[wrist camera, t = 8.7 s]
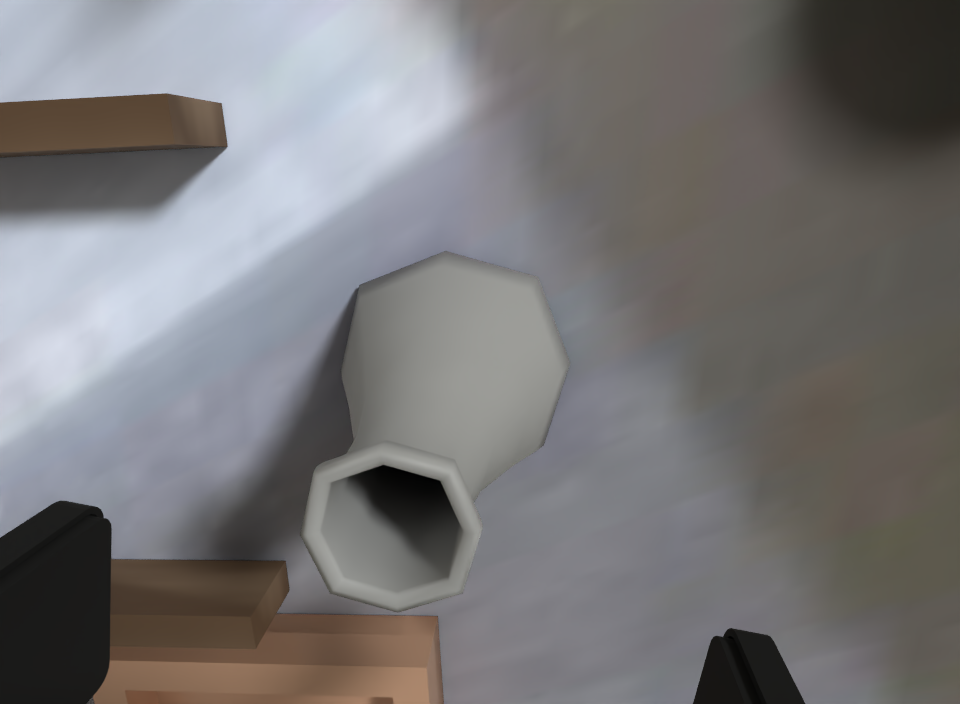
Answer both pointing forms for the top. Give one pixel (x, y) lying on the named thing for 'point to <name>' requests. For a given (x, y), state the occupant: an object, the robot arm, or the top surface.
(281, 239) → the top surface
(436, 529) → the flask
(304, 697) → the tray
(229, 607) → the bay
